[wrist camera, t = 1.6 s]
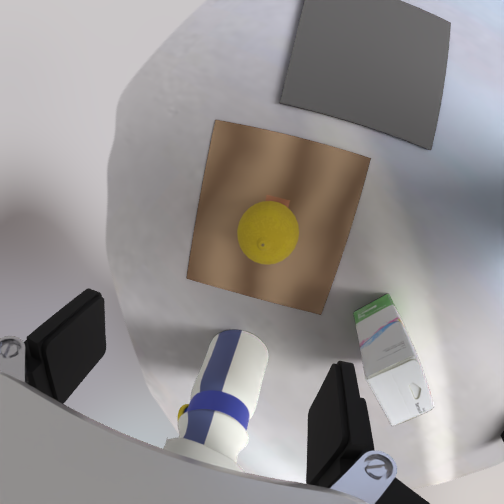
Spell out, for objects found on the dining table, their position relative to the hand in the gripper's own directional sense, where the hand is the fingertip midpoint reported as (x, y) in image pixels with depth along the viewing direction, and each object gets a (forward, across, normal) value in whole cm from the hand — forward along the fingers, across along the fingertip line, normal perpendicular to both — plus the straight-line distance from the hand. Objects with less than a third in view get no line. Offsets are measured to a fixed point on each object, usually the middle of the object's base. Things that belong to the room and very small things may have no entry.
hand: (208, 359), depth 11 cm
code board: (+22, -1, 0) cm, 22 cm away
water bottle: (+23, -1, +18) cm, 29 cm away
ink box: (+22, -17, +9) cm, 29 cm away
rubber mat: (+22, -7, -20) cm, 31 cm away
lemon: (+22, -1, 0) cm, 22 cm away
